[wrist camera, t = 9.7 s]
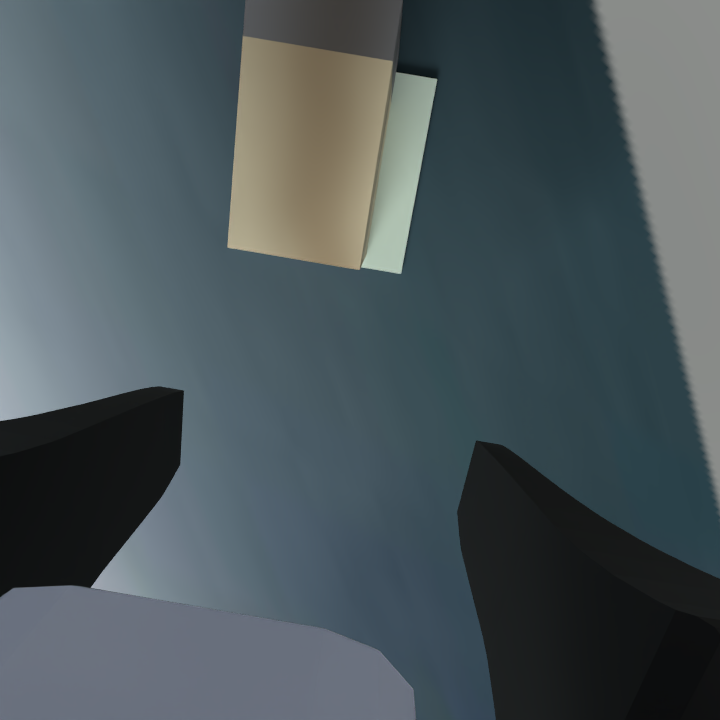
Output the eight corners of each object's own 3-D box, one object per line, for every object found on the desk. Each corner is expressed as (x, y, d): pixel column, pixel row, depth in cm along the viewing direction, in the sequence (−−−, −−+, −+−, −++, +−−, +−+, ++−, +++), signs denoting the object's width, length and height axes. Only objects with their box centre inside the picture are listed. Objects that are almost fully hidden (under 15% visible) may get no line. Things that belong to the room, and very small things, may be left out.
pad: (232, 244, 19) (229, 244, 19) (247, 50, 17) (244, 46, 17) (400, 272, 19) (400, 273, 19) (436, 82, 17) (437, 79, 17)
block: (267, 238, 19) (227, 247, 14) (287, 38, 17) (247, -32, 12) (366, 255, 19) (359, 269, 14) (398, 57, 17) (403, -6, 12)
